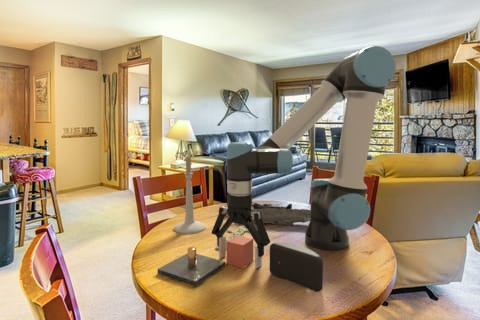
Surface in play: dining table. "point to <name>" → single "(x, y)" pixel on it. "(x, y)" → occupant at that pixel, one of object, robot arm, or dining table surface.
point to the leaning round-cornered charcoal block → (297, 265)
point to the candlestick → (189, 208)
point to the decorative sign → (236, 233)
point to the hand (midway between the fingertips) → (239, 261)
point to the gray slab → (191, 268)
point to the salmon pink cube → (239, 251)
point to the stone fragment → (283, 215)
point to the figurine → (267, 206)
